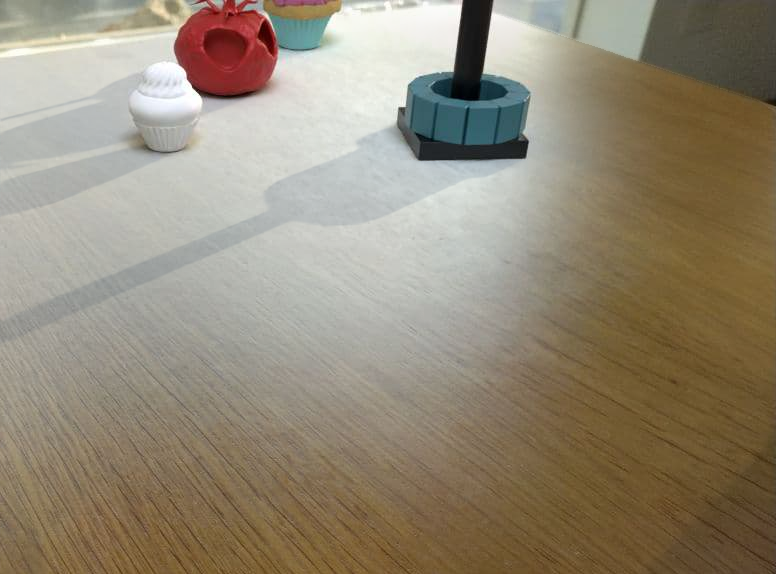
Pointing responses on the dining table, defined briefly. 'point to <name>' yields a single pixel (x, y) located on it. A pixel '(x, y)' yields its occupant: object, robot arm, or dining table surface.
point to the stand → (466, 91)
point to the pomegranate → (227, 49)
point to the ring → (467, 110)
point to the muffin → (165, 107)
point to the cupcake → (300, 21)
